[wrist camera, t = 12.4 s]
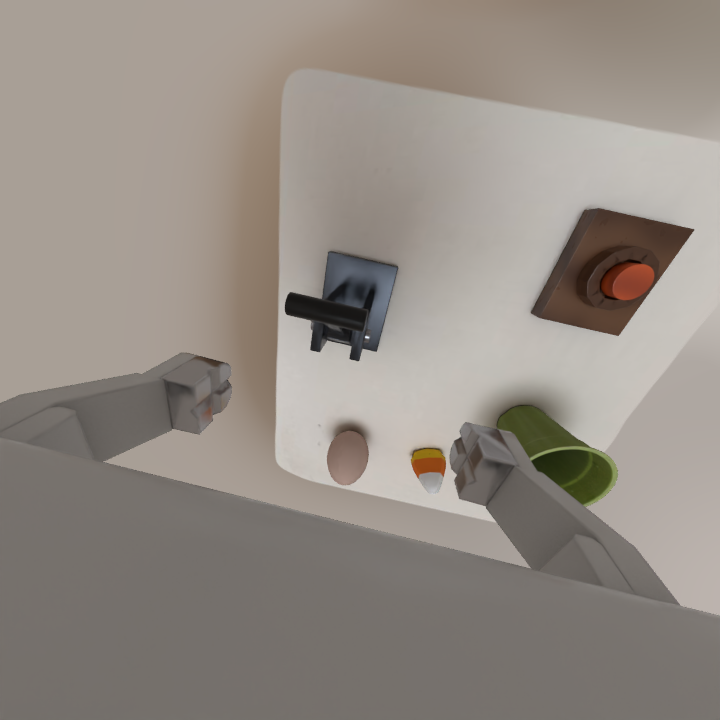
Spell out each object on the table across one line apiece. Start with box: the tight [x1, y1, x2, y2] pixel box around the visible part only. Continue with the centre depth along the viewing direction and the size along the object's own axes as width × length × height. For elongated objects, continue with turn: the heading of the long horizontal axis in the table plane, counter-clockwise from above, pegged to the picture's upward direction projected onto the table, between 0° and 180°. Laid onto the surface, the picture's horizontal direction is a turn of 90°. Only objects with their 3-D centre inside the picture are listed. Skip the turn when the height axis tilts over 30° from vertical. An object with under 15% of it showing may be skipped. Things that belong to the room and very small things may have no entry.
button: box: [601, 262, 654, 300], centre depth 27 cm, size 4×4×2 cm
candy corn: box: [411, 449, 446, 494], centre depth 43 cm, size 6×3×8 cm, turn 103°
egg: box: [327, 431, 369, 485], centre depth 42 cm, size 7×7×10 cm
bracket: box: [310, 251, 398, 361], centre depth 30 cm, size 12×9×13 cm
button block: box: [531, 208, 694, 336], centre depth 29 cm, size 12×10×4 cm
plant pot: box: [497, 406, 618, 507], centre depth 36 cm, size 12×12×11 cm
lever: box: [285, 292, 368, 344], centre depth 22 cm, size 12×5×2 cm
